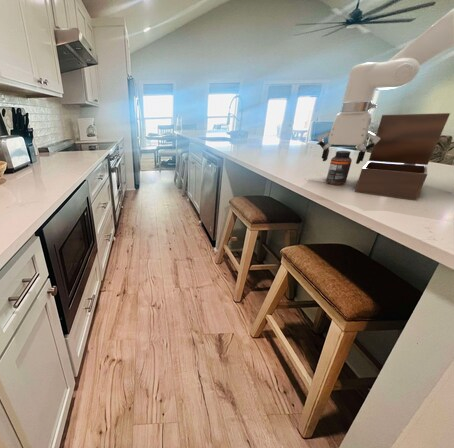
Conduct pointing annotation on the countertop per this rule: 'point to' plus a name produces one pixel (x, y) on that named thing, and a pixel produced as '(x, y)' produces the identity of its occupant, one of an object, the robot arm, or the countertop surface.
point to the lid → (408, 137)
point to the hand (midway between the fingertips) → (340, 161)
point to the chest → (392, 179)
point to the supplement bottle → (339, 168)
